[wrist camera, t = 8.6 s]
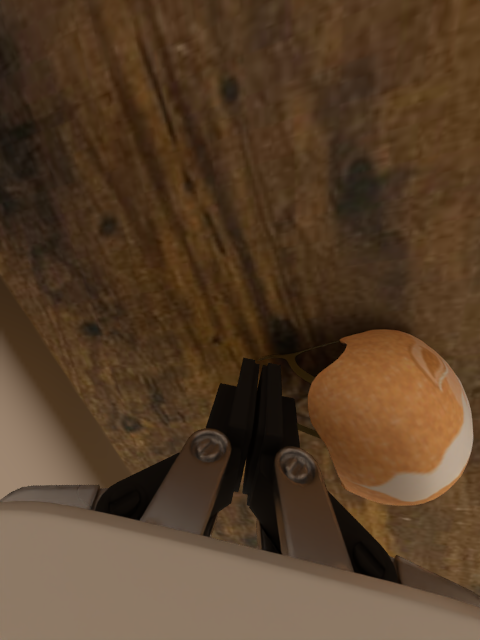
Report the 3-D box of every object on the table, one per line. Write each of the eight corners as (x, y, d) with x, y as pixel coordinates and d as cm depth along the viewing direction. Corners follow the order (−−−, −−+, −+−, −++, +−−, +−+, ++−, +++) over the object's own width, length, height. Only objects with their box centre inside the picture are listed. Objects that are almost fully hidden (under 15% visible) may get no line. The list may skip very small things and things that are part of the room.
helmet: (325, 388, 17) (493, 412, 11) (266, 478, 13) (478, 592, 7) (291, 312, 15) (468, 291, 9) (213, 389, 12) (430, 439, 5)
